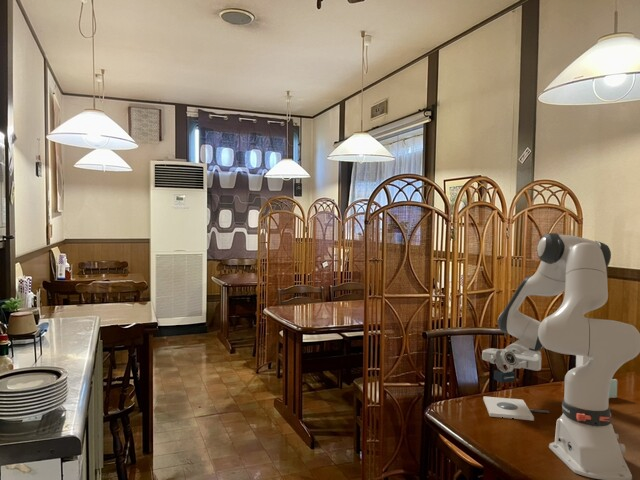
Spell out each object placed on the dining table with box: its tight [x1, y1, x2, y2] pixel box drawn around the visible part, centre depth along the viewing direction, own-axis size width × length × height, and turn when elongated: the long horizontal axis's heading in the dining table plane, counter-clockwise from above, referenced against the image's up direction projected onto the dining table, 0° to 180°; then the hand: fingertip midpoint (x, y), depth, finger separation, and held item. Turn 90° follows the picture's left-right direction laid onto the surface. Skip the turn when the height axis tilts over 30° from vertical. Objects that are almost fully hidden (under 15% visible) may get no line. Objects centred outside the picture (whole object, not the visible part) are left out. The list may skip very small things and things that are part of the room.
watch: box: [493, 348, 517, 384], centre depth 161 cm, size 6×8×11 cm
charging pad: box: [482, 396, 550, 421], centre depth 161 cm, size 16×21×1 cm
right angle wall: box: [609, 378, 618, 399], centre depth 180 cm, size 12×12×8 cm
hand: (504, 363), depth 161 cm, fingers closed on watch, 7 cm apart
